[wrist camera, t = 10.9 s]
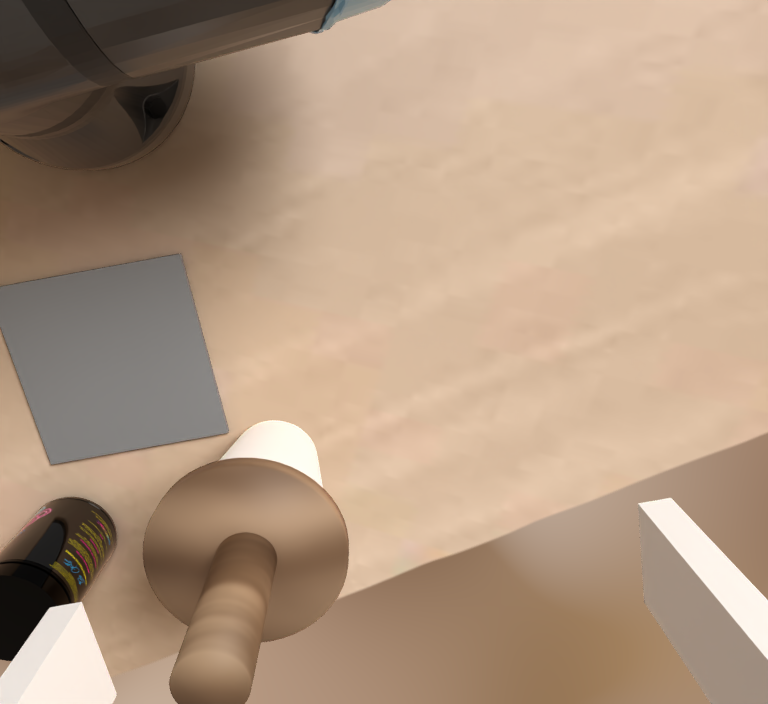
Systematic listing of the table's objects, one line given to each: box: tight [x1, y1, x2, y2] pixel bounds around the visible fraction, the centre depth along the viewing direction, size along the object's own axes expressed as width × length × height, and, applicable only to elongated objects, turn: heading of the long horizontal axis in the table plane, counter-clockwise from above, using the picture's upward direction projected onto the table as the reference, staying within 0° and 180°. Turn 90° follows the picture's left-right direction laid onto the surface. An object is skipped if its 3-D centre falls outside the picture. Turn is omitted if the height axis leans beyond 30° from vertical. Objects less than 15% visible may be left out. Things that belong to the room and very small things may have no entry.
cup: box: [219, 420, 323, 488], centre depth 43 cm, size 9×9×12 cm
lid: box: [143, 458, 349, 704], centre depth 33 cm, size 12×12×10 cm
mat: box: [0, 253, 229, 465], centre depth 46 cm, size 14×14×1 cm
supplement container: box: [0, 497, 117, 661], centre depth 45 cm, size 7×7×10 cm
